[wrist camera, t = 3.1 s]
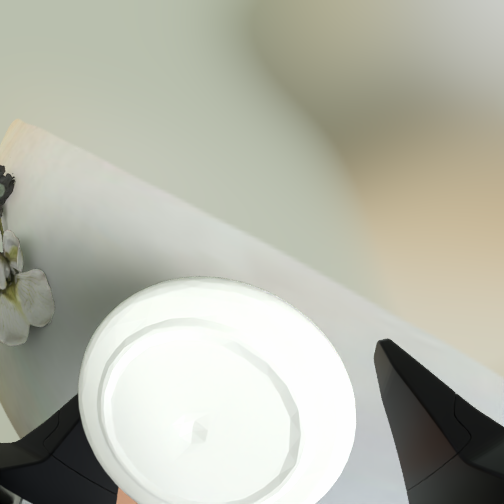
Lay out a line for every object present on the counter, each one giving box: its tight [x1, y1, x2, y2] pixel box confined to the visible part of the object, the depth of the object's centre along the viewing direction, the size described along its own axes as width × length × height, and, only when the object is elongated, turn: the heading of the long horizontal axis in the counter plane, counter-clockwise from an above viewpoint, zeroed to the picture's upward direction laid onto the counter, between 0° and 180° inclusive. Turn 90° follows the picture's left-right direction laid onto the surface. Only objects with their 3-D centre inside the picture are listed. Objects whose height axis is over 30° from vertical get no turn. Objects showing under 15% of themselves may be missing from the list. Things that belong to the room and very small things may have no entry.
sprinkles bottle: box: [78, 277, 356, 504], centre depth 9 cm, size 5×5×13 cm
